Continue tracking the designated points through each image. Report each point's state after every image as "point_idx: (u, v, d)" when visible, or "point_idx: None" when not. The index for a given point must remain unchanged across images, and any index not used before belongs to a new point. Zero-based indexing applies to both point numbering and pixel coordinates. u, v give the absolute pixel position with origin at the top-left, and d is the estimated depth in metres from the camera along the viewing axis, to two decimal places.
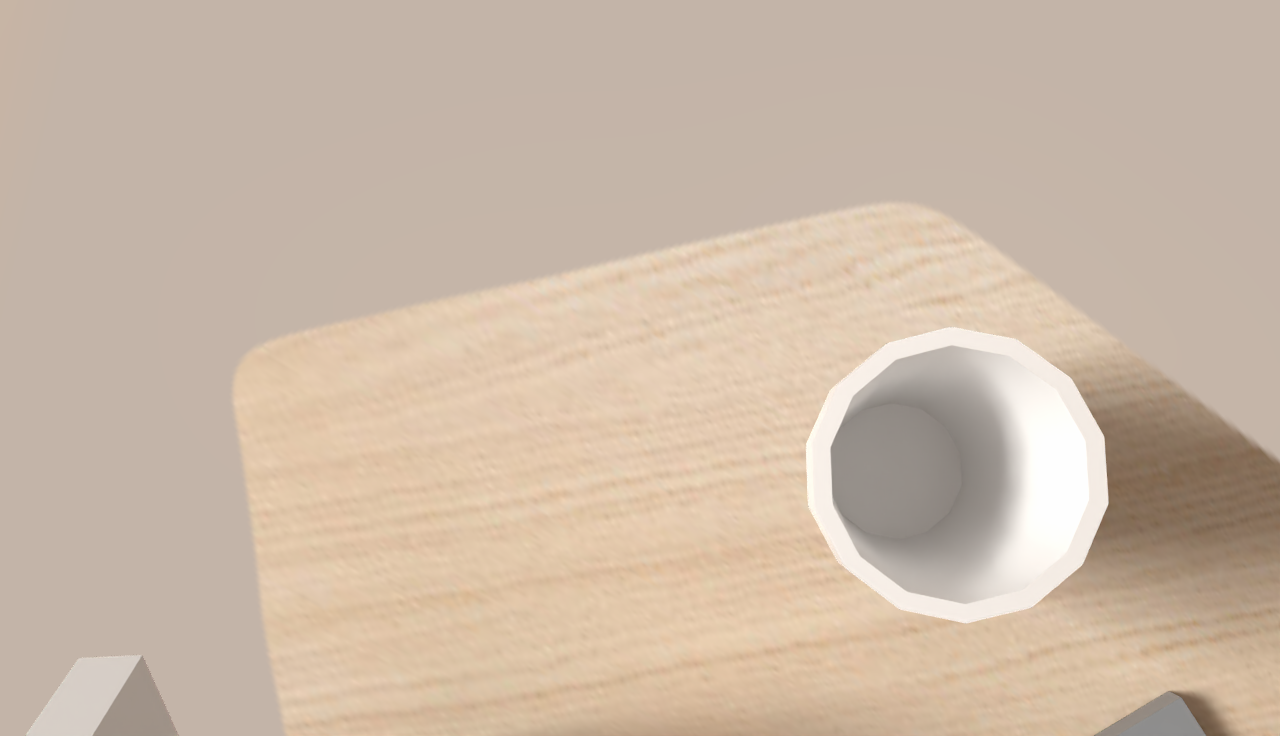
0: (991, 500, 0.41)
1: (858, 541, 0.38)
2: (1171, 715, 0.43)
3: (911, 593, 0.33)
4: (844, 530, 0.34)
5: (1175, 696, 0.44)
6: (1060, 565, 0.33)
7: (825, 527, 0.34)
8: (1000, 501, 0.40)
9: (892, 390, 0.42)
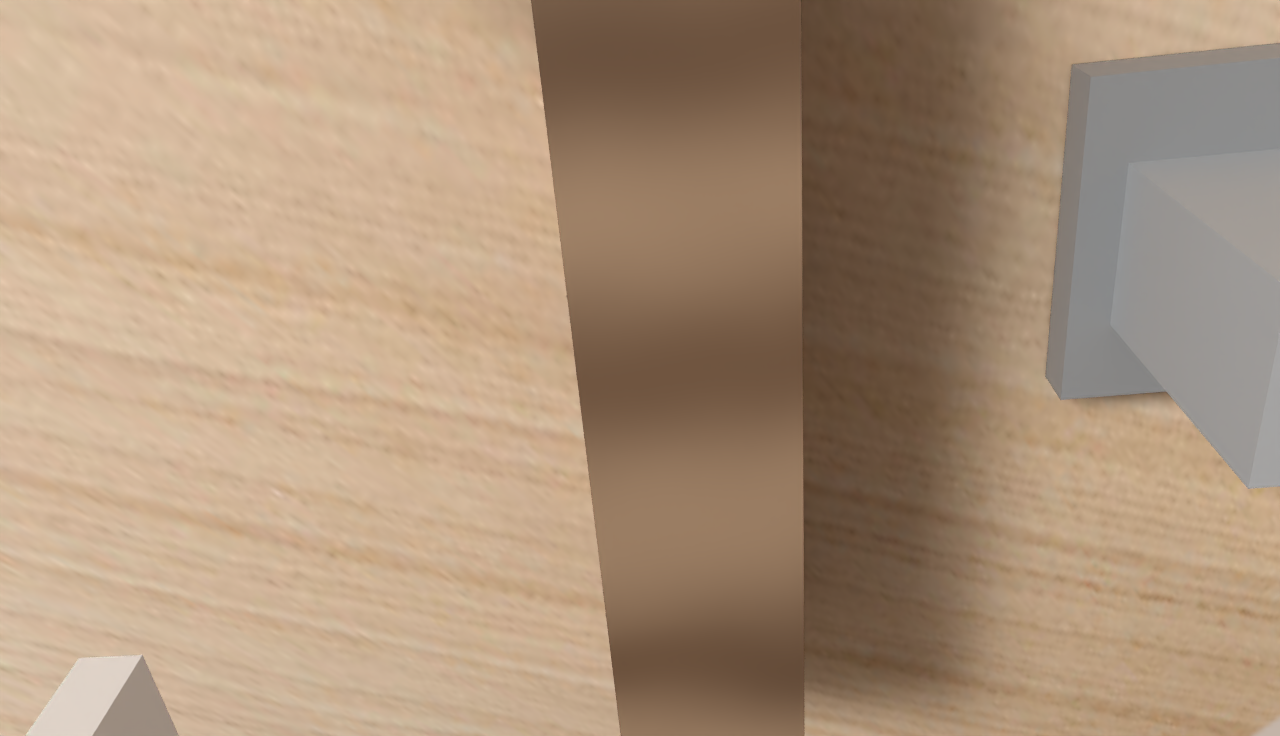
0: None
1: None
2: None
3: None
4: None
5: None
6: None
7: None
8: None
9: None
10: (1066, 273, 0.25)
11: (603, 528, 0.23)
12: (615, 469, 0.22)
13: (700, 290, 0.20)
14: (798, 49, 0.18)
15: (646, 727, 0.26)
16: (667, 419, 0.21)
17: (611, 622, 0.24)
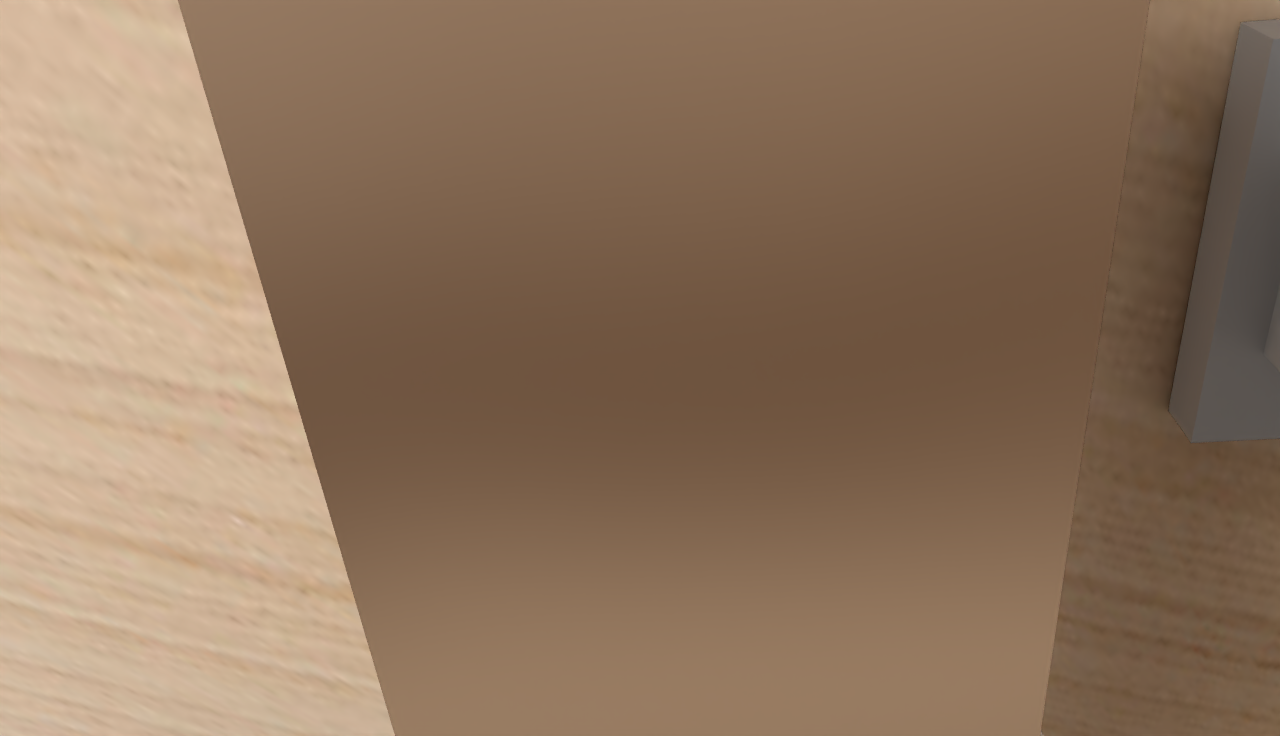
0: None
1: None
2: None
3: None
4: None
5: None
6: None
7: None
8: None
9: None
10: (1210, 289, 0.20)
11: None
12: None
13: None
14: (1088, 351, 0.06)
15: None
16: None
17: None
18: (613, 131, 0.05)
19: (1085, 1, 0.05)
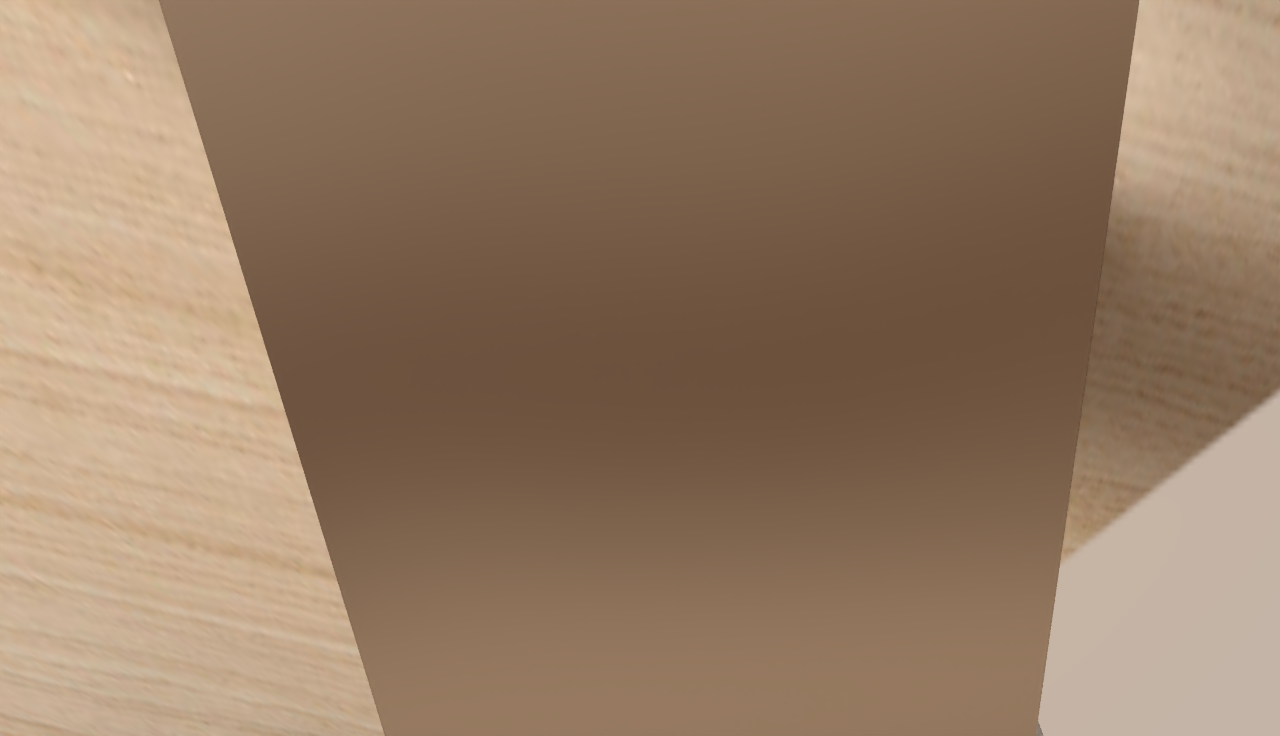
0: None
1: None
2: None
3: None
4: None
5: None
6: None
7: None
8: None
9: None
10: None
11: None
12: None
13: None
14: (1082, 346, 0.06)
15: None
16: None
17: None
18: (599, 124, 0.05)
19: None
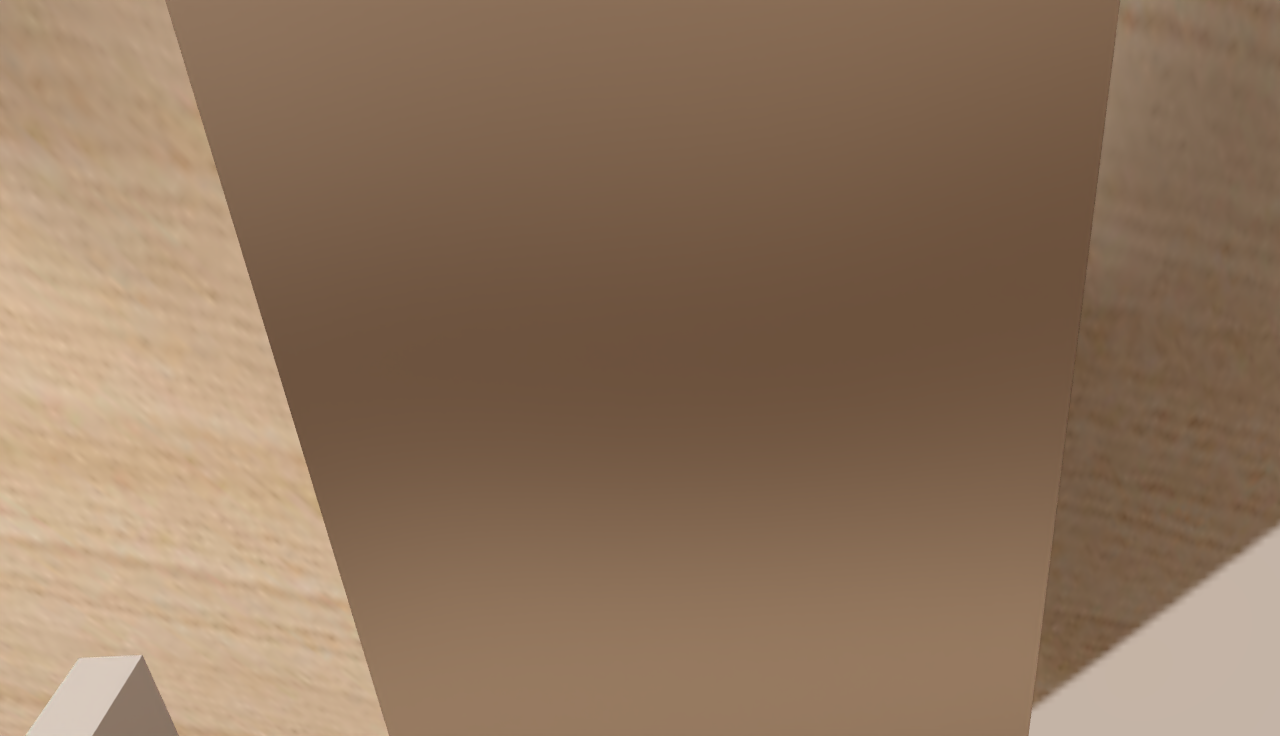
0: None
1: None
2: None
3: None
4: None
5: None
6: None
7: None
8: None
9: None
10: None
11: None
12: None
13: None
14: (1070, 329, 0.06)
15: None
16: None
17: None
18: (595, 113, 0.05)
19: None
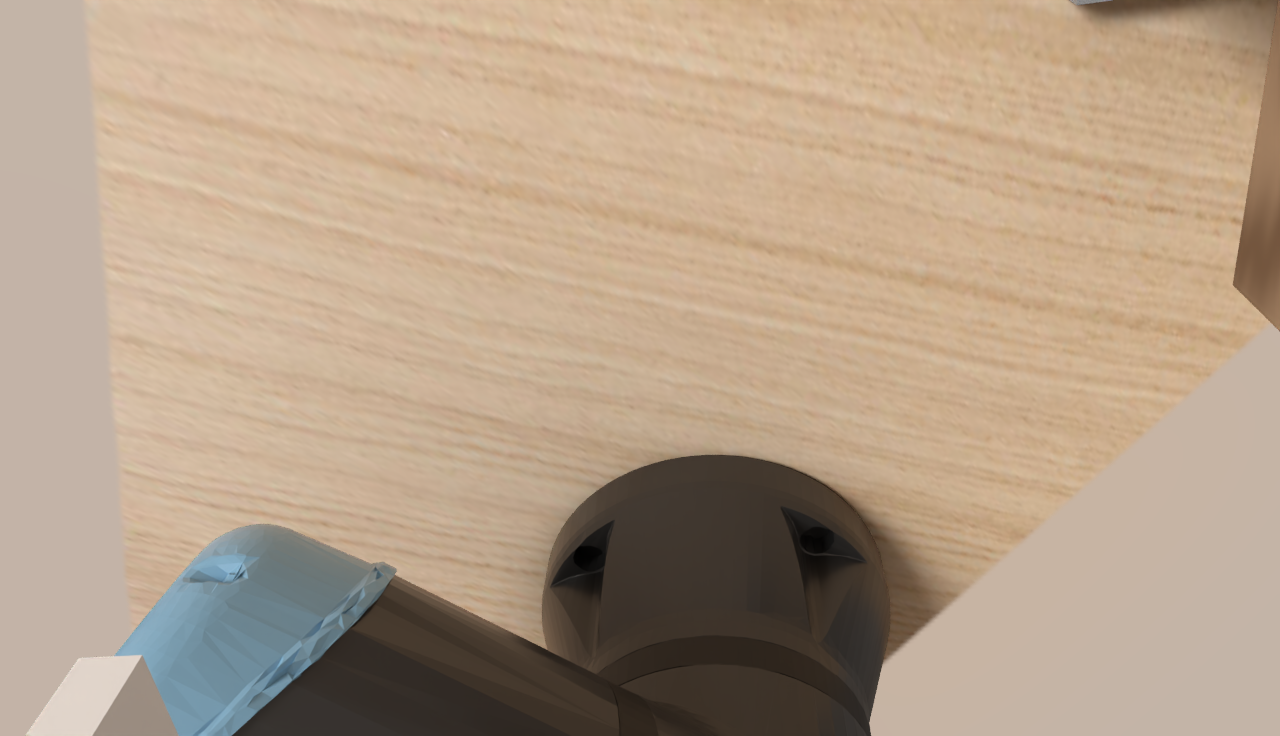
0: None
1: None
2: None
3: None
4: None
5: None
6: None
7: None
8: None
9: None
10: None
11: None
12: None
13: None
14: None
15: None
16: None
17: None
18: None
19: None
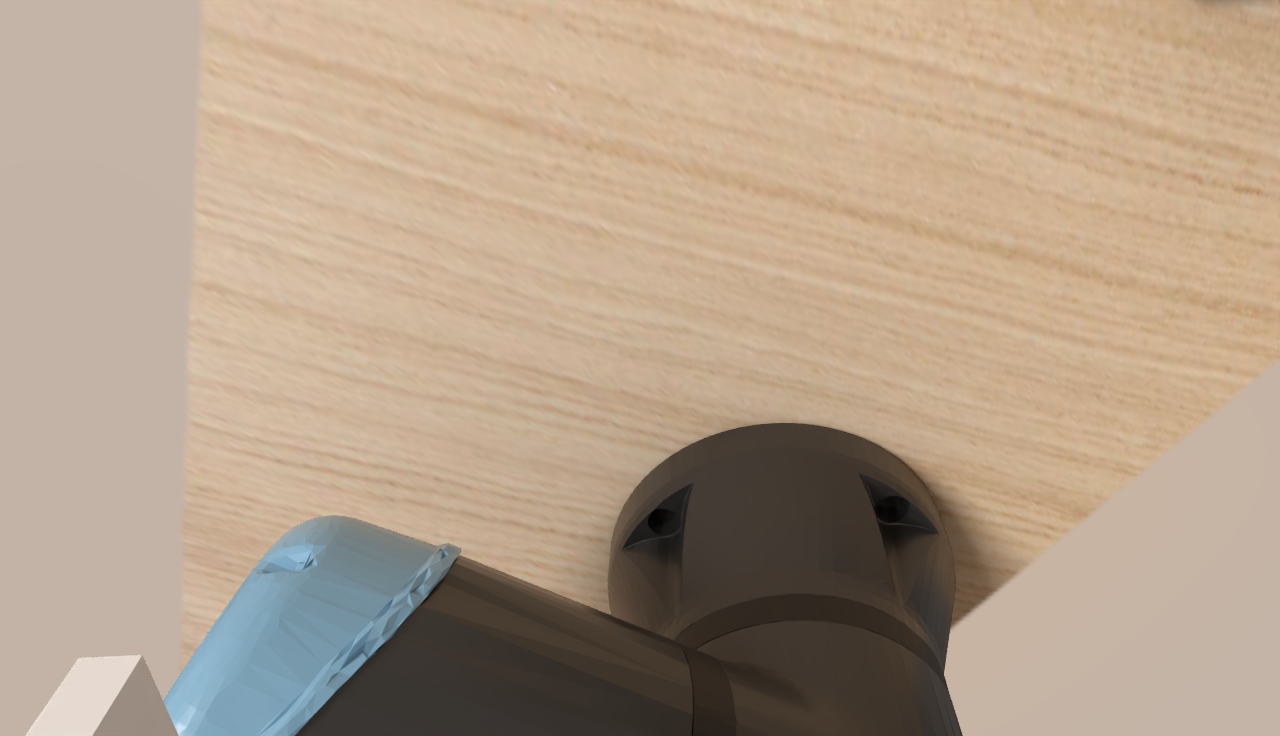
0: None
1: None
2: None
3: None
4: None
5: None
6: None
7: None
8: None
9: None
10: None
11: None
12: None
13: None
14: None
15: None
16: None
17: None
18: None
19: None
